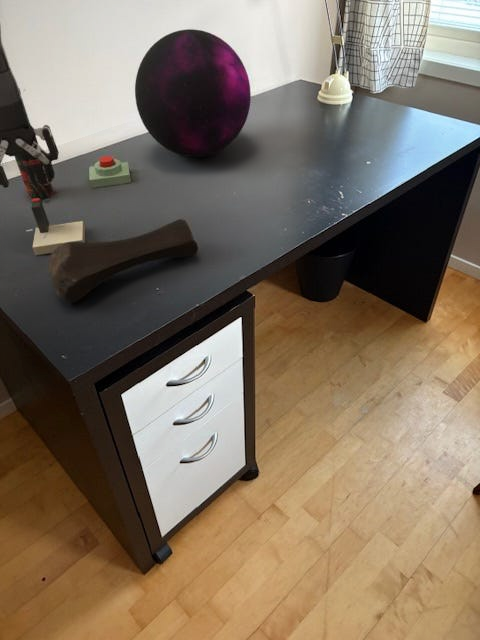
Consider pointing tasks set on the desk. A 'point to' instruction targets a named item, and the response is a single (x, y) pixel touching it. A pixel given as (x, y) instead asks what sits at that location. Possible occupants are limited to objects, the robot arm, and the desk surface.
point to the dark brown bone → (114, 258)
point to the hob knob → (40, 215)
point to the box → (109, 174)
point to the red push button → (107, 161)
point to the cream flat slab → (57, 236)
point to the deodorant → (34, 176)
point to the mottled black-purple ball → (192, 93)
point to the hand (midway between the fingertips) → (29, 183)
